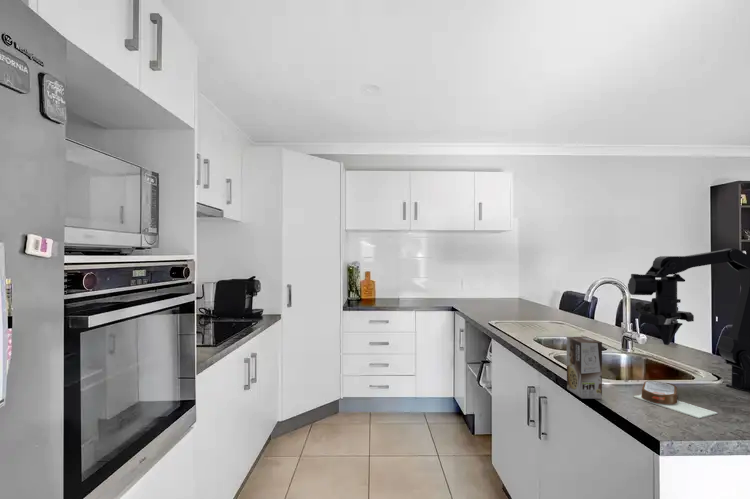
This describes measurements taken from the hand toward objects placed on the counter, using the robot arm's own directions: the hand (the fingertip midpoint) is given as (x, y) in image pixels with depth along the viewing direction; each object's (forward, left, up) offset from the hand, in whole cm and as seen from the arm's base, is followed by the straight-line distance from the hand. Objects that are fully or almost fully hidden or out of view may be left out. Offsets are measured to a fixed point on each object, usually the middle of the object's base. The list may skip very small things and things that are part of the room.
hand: (666, 344), depth 133 cm
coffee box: (+32, -4, -13) cm, 35 cm away
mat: (+18, +12, -12) cm, 25 cm away
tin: (+13, +11, -11) cm, 20 cm away
